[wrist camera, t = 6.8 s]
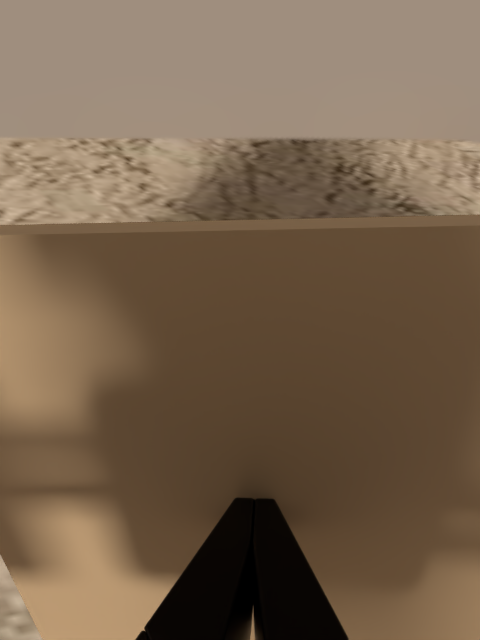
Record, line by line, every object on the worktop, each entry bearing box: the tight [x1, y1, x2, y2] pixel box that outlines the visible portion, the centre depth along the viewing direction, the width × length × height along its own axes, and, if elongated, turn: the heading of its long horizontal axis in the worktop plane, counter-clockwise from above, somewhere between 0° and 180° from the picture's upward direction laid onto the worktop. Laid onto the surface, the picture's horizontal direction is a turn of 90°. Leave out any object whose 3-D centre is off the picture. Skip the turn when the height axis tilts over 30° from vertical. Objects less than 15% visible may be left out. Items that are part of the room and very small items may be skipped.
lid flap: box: [0, 215, 480, 640], centre depth 9 cm, size 12×12×1 cm
